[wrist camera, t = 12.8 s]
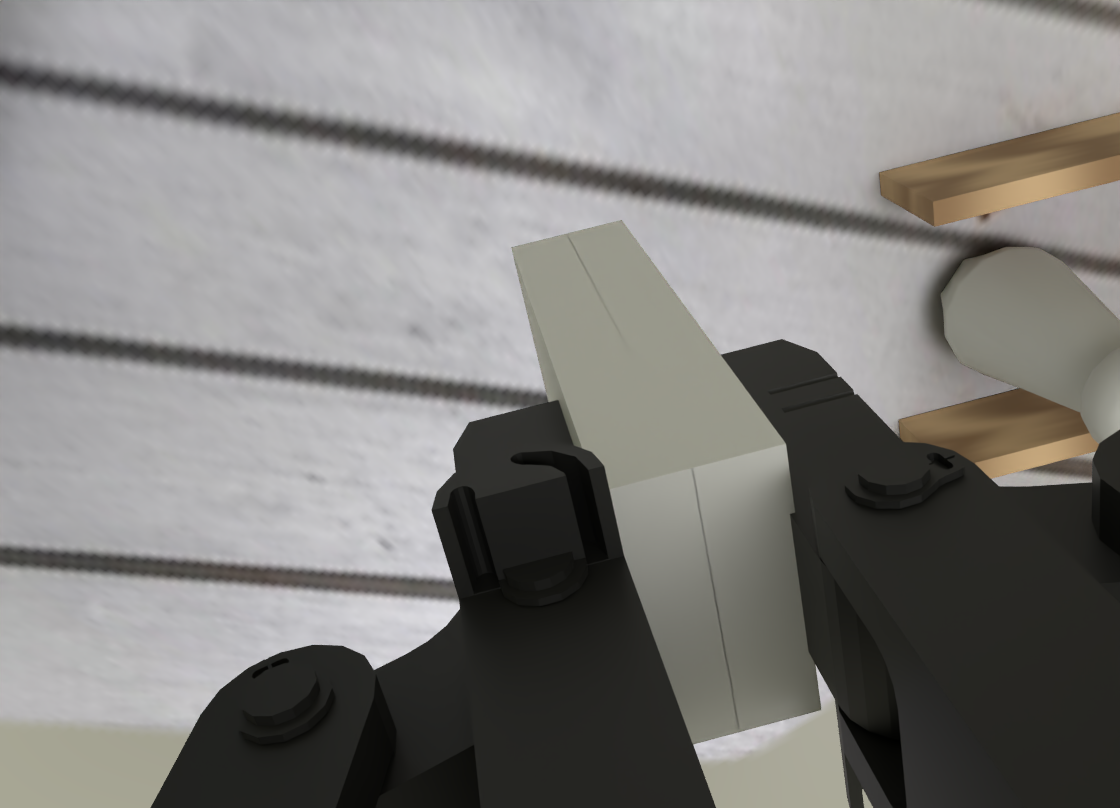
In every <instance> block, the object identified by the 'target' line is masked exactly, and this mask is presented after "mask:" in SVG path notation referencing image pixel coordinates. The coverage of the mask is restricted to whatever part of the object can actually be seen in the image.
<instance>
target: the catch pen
mask: <svg viewBox="0 0 1120 808" xmlns="http://www.w3.org/2000/svg"><path fill="white" fill-rule="evenodd" d="M879 174H880V187H881V195H882V196H883V197H885V198H887V199H888V200H890V201H892V202H893V203H895V204H897V205H899V206H900V207H902V208H904V209H905V210H907V211H909V212H910V213H912V214H914V215H916V216H917V217H919V218H921V219H922V220H924V221H926V222H927V223H929V224H931V225H932V226H934V227H935V226H939V225H943V224H947V223H951V222H955V221H959V220H963V219H967V218H971V217H975V216H979V215H983V214H987V213H991V212H995V211H999V210H1003V209H1007V208H1011V207H1015V206H1019V205H1023V204H1027V203H1031V202H1035V201H1039V200H1043V199H1046V198H1050V197H1054V196H1058V195H1062V194H1066V193H1070V192H1074V191H1078V190H1082V189H1086V188H1090V187H1094V186H1098V185H1102V184H1106V183H1110V182H1114V181H1118V180H1120V113H1116V114H1112V115H1108V116H1104V117H1100V118H1096V119H1092V120H1088V121H1084V122H1080V123H1076V124H1072V125H1068V126H1064V127H1060V128H1056V129H1052V130H1048V131H1044V132H1040V133H1036V134H1032V135H1028V136H1024V137H1020V138H1016V139H1012V140H1008V141H1004V142H1000V143H996V144H992V145H988V146H984V147H980V148H976V149H972V150H968V151H964V152H960V153H956V154H952V155H948V156H944V157H939V158H935V159H931V160H927V161H923V162H919V163H915V164H911V165H907V166H903V167H899V168H895V169H891V170H887V171H883V172H879ZM899 429H900V438H901V439H902V441H903V442H916V443H927V444H931V445H935V446H939V447H943V448H946V449H950V450H954V451H955V452H957V453H959V454H960V455H962V456H964V457H965V458H967V459H968V460H970V461H972V462H973V463H975V464H976V465H977V466H978V467H979V468H980V469H981V470H982V471H983V472H984V473H985V474H986V475H987V476H988V477H989V478H990V479H991V478H995V477H999V476H1003V475H1007V474H1010V473H1014V472H1018V471H1022V470H1026V469H1030V468H1033V467H1037V466H1041V465H1045V464H1049V463H1053V462H1056V461H1060V460H1064V459H1068V458H1072V457H1075V456H1079V455H1083V454H1087V453H1091V452H1095V451H1096V450H1097V448H1098V446H1099V444H1098V443H1097V442H1096V441H1095V440H1094V439H1093V438H1092V436H1091V434H1090V432H1089V431H1088V429H1087V427H1086V425H1085V423H1084V421H1083V419H1082V417H1081V413H1080V412H1077V411H1075V410H1073V409H1070V408H1068V407H1065V406H1063V405H1060V404H1058V403H1056V402H1053V401H1051V400H1048V399H1046V398H1043V397H1041V396H1039V395H1036V394H1034V393H1031V392H1029V391H1026V390H1024V389H1021V388H1020V389H1016V390H1012V391H1008V392H1004V393H1001V394H997V395H993V396H989V397H985V398H981V399H977V400H974V401H970V402H966V403H962V404H958V405H954V406H950V407H946V408H943V409H939V410H935V411H931V412H927V413H923V414H919V415H916V416H912V417H908V418H904V419H900V420H899Z"/></svg>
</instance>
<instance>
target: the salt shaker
mask: <svg viewBox="0 0 1120 808" xmlns="http://www.w3.org/2000/svg"><path fill="white" fill-rule="evenodd" d="M940 296H941V301H942V306H943V314H944V333H945V338H946V339H947V341H948V343H949V345H950V346H951V348H952V350H953V352H954V354H955V355H956V357H957V359H958V360H959V361H960V363H961V364H963V365H965V366H967V367H969V368H971V369H973V370H976V371H978V372H980V373H982V374H984V375H987V376H989V377H992V378H995V379H997V380H1000V381H1003V382H1005V383H1008V384H1011V385H1013V386H1016V387H1019V388H1021V389H1024V390H1026V391H1029V392H1031V393H1034V394H1036V395H1039V396H1041V397H1043V398H1046V399H1048V400H1051V401H1053V402H1056V403H1058V404H1060V405H1063V406H1065V407H1068V408H1070V409H1073V410H1075V411H1077V412H1080V413H1081V417H1082V419H1083V421H1084V423H1085V425H1086V427H1087V429H1088V431H1089V432H1090V434H1091V436H1092V438H1093V439H1094V440H1095V441H1096V442H1097V443H1098V444H1099V443H1100V442H1102V441H1103V440H1105V439H1106V438H1108V437H1109V436H1111V435H1112V434H1114V433H1115V432H1117V431H1118V430H1120V320H1119V319H1118V318H1117V317H1116V316H1115V315H1114V314H1113V313H1112V312H1111V311H1110V310H1109V309H1108V308H1107V307H1106V306H1105V305H1104V304H1103V303H1102V302H1101V301H1100V300H1099V299H1098V298H1097V297H1096V296H1095V294H1094V293H1093V292H1092V291H1091V290H1090V289H1089V288H1088V287H1087V286H1086V285H1085V284H1084V283H1083V282H1082V281H1081V280H1080V279H1079V278H1078V277H1077V276H1076V275H1075V274H1074V273H1073V272H1072V271H1071V270H1070V269H1069V268H1068V267H1067V266H1066V265H1065V263H1064V262H1062V261H1061V260H1059V259H1057V258H1055V257H1054V256H1052V255H1050V254H1048V253H1047V252H1045V251H1043V250H1042V249H1039V248H1035V247H1004V248H1001V249H999V250H996V251H993V252H990V253H988V254H985V255H981V256H977V257H973V258H968V259H964V260H963V262H962V263H961V265H960V266H959V267H958V269H957V270H956V272H955V273H954V275H953V276H952V278H951V279H950V281H949V282H948V284H947V285H946V287H945V288H944V290H943V291H942V293H941V294H940Z"/></svg>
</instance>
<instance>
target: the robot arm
mask: <svg viewBox="0 0 1120 808" xmlns="http://www.w3.org/2000/svg"><path fill="white" fill-rule="evenodd" d="M511 248H512V252H513V256H514V260H515V265H516V269H517V273H518V277H519V281H520V285H521V289H522V294H523V298H524V302H525V306H526V310H527V314H528V319H529V323H530V327H531V331H532V335H533V339H534V344H535V348H536V352H537V356H538V360H539V364H540V369H541V373H542V377H543V381H544V385H545V389H546V393H547V398H548V402H547V403H544V404H540V405H536V406H532V407H528V408H524V409H520V410H516V411H512V412H508V413H504V414H500V415H496V416H492V417H489V418H485V419H481V420H477V421H473V422H469V424H468V425H467V427H466V429H465V430H464V432H463V434H462V435H461V437H460V439H459V440H458V442H457V443H456V445H455V447H454V448H453V452H454V461H455V469H456V473H454V474H453V475H452V476H451V477H450V478H449V479H448V480H447V481H446V483H445V484H444V485H443V486H442V487H441V488H440V489H439V490H438V491H437V493H436V497H435V500H434V504H433V507H432V513H433V516H434V520H435V523H436V526H437V529H438V533H439V536H440V539H441V542H442V545H443V549H444V552H445V555H446V558H447V562H448V565H449V568H450V571H451V574H452V578H453V581H454V584H455V587H456V591H457V594H458V597H459V602H460V610H459V611H458V612H457V613H456V615H455V616H454V617H453V618H452V620H451V621H450V622H449V623H448V625H447V626H446V627H444V628H443V629H442V630H441V631H440V632H438V633H437V634H436V635H435V636H434V637H433V638H431V639H430V640H429V641H428V642H426V643H424V644H423V645H421V646H419V647H417V648H416V649H414V650H412V651H411V652H409V653H407V654H406V655H404V656H402V657H400V658H398V659H396V660H394V661H392V662H390V663H388V664H386V665H384V666H382V667H380V668H378V669H376V670H373V668H372V667H371V665H370V663H369V662H368V660H367V659H366V657H365V656H364V655H362V654H360V653H358V652H355V651H353V650H351V649H349V648H346V647H344V646H333V645H311V646H306V647H302V648H298V649H294V650H289V651H285V652H281V653H279V654H276V655H274V656H272V657H269V658H268V659H266V660H263V661H261V662H259V663H257V664H256V665H253V666H251V667H249V668H247V669H246V670H245V671H244V672H242V673H241V674H240V675H238V676H237V677H236V678H235V679H233V680H232V681H231V682H229V683H228V684H227V685H226V686H224V687H223V688H222V689H220V690H219V692H218V693H217V694H216V696H215V697H214V698H213V699H212V701H211V702H210V703H209V705H208V706H207V707H206V709H205V710H204V711H203V712H202V714H201V715H200V717H199V719H198V721H197V723H196V724H195V726H194V728H193V730H192V732H191V734H190V736H189V737H188V739H187V741H186V743H185V745H184V747H183V749H182V750H181V752H180V754H179V756H178V758H177V760H176V762H175V764H174V765H173V767H172V769H171V771H170V773H169V775H168V777H167V778H166V780H165V782H164V784H163V786H162V788H161V790H160V792H159V793H158V795H157V797H156V799H155V801H154V803H153V804H152V806H151V808H716V807H715V804H714V801H713V798H712V796H711V793H710V790H709V788H708V785H707V782H706V779H705V776H704V774H703V771H702V769H701V765H700V763H699V760H698V757H697V754H696V752H695V749H694V746H693V744H696V743H700V742H704V741H708V740H711V739H715V738H719V737H722V736H726V735H730V734H734V733H737V732H741V731H745V730H748V729H752V728H756V727H760V726H763V725H767V724H771V723H775V722H778V721H782V720H786V719H789V718H793V717H797V716H801V715H804V714H808V713H812V712H816V711H819V710H821V704H820V697H819V689H818V682H817V674H816V667H815V664H816V666H817V668H818V670H819V671H820V673H821V675H822V677H823V679H824V680H825V682H826V684H827V686H828V687H829V689H830V691H831V693H832V695H833V696H834V698H835V704H836V712H837V719H838V728H839V735H840V744H841V752H842V760H843V768H844V776H845V784H846V792H847V798H848V802H849V807H850V808H864V804H863V795H862V789H864V791H865V793H866V795H867V797H868V799H869V801H870V802H871V804H872V806H873V808H1120V430H1118V431H1117V432H1115V433H1114V434H1112V435H1111V436H1109V437H1108V438H1106V439H1105V440H1103V441H1102V442H1100V443H1099V446H1098V448H1097V450H1096V453H1095V455H1094V458H1093V461H1092V483H1077V484H1061V485H1046V486H1030V487H1000V486H998V485H997V484H996V483H995V482H994V481H993V480H991V479H990V478H989V477H988V476H987V475H986V474H985V473H984V472H983V471H982V470H981V469H980V468H979V467H978V466H977V465H976V464H975V463H973V462H972V461H970V460H968V459H967V458H965V457H964V456H962V455H960V454H959V453H957V452H955V451H954V450H950V449H946V448H943V447H939V446H935V445H931V444H927V443H916V442H903V441H902V440H901V439H900V438H899V437H898V436H897V435H896V434H895V433H894V432H893V431H892V430H891V429H890V428H889V427H888V426H887V425H886V424H885V423H884V422H883V421H882V419H881V418H880V417H879V416H878V415H877V414H876V413H875V412H874V411H873V410H872V409H871V408H870V407H869V406H868V405H867V404H866V403H865V402H864V401H863V400H862V399H861V397H860V396H859V395H858V394H856V395H854V392H853V389H852V388H851V387H850V386H849V385H848V384H847V383H846V382H845V381H844V380H843V379H842V378H841V377H838V376H837V372H836V371H835V370H834V369H833V368H832V367H831V366H830V365H829V364H828V363H827V362H826V361H825V360H824V359H823V358H822V357H821V356H820V355H819V354H818V353H817V352H815V351H813V350H810V349H807V348H804V347H802V346H799V345H796V344H794V343H791V342H788V341H786V340H783V339H781V340H777V341H773V342H769V343H765V344H761V345H757V346H753V347H750V348H746V349H742V350H738V351H734V352H730V353H726V354H722V355H720V353H719V352H718V351H717V349H716V348H715V347H714V345H713V344H712V342H711V341H710V340H709V338H708V337H707V336H706V334H705V333H704V332H703V330H702V329H701V327H700V326H699V325H698V323H697V322H696V321H695V319H694V318H693V317H692V315H691V314H690V313H689V311H688V310H687V308H686V307H685V306H684V304H683V303H682V302H681V300H680V299H679V298H678V296H677V295H676V293H675V292H674V291H673V289H672V288H671V287H670V285H669V284H668V283H667V281H666V280H665V278H664V277H663V276H662V274H661V273H660V272H659V270H658V269H657V268H656V266H655V265H654V264H653V262H652V261H651V259H650V258H649V257H648V255H647V254H646V253H645V251H644V250H643V249H642V247H641V246H640V244H639V243H638V242H637V240H636V239H635V238H634V236H633V235H632V234H631V232H630V231H629V229H628V228H627V227H626V225H625V224H624V223H623V221H622V220H620V221H616V222H612V223H608V224H604V225H600V226H596V227H592V228H588V229H584V230H580V231H576V232H572V233H568V234H564V235H560V236H556V237H552V238H548V239H544V240H540V241H536V242H532V243H528V244H524V245H519V246H515V247H511Z"/></svg>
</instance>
